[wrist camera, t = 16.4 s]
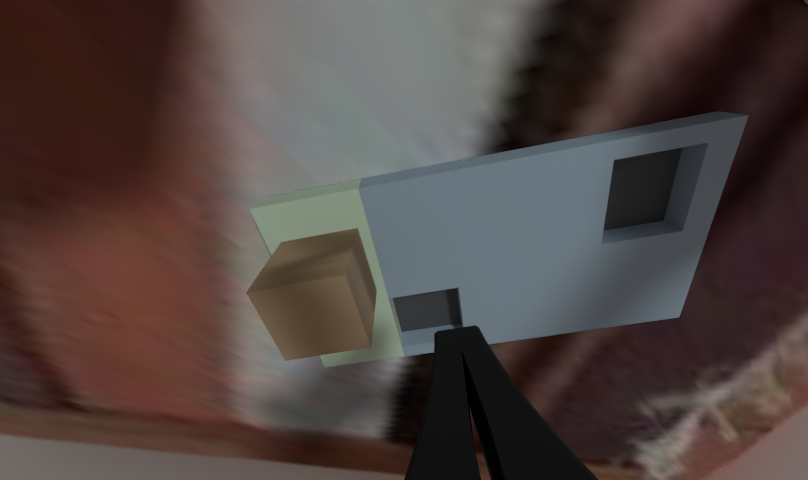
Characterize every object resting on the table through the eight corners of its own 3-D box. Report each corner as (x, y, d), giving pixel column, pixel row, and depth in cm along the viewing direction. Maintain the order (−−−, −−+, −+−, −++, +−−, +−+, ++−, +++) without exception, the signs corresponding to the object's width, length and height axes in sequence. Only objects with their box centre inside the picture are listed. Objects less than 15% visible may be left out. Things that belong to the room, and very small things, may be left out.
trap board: (717, 111, 16) (748, 115, 14) (661, 301, 22) (679, 317, 20) (261, 198, 18) (249, 209, 16) (329, 350, 24) (325, 367, 22)
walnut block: (357, 227, 17) (345, 275, 13) (376, 290, 19) (371, 347, 15) (281, 242, 17) (246, 292, 13) (308, 301, 19) (285, 360, 15)
